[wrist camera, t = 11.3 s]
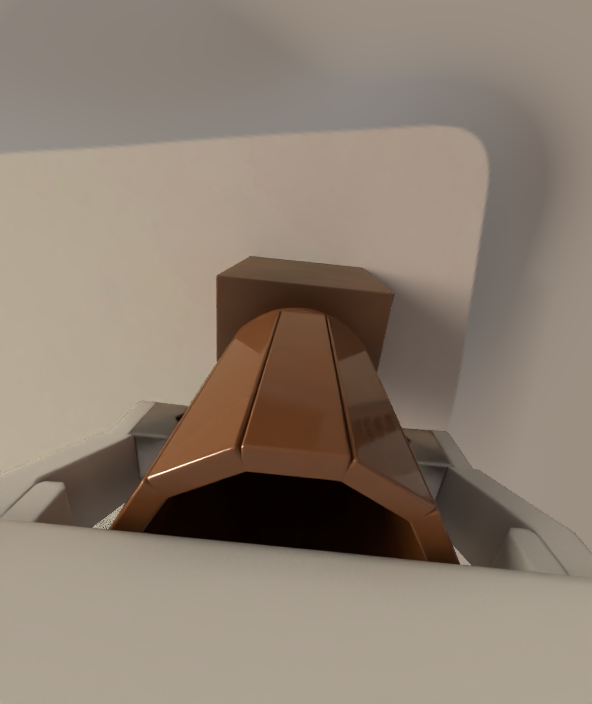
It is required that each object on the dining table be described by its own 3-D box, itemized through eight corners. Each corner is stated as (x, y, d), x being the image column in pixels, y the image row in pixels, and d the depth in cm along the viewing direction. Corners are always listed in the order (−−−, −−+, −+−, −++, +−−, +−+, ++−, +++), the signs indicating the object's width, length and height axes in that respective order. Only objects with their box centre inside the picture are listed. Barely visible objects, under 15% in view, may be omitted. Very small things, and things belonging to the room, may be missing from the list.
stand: (363, 267, 20) (394, 293, 13) (345, 369, 23) (362, 439, 16) (249, 255, 20) (215, 275, 13) (246, 359, 23) (216, 424, 16)
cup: (384, 315, 12) (513, 473, 4) (357, 446, 14) (409, 689, 7) (222, 299, 12) (77, 429, 4) (221, 432, 14) (128, 661, 7)
